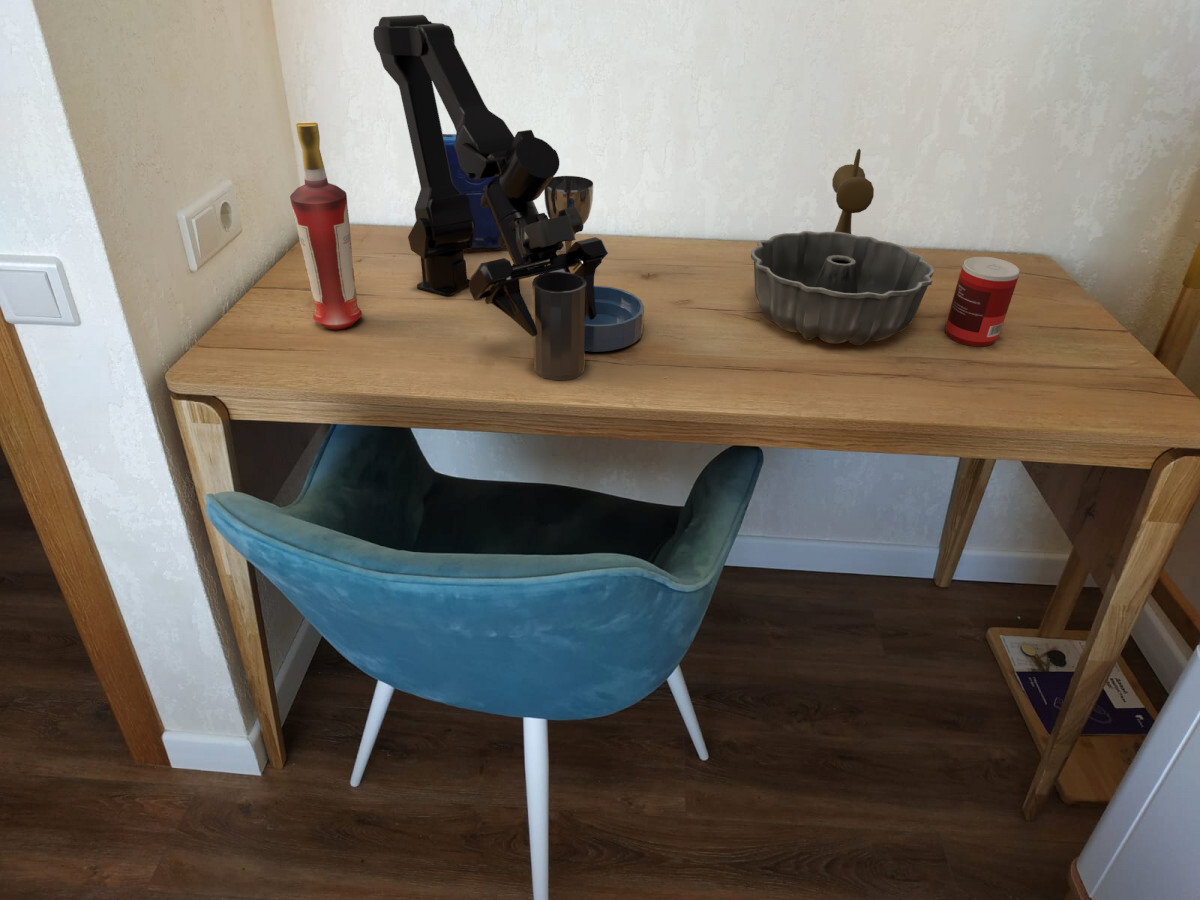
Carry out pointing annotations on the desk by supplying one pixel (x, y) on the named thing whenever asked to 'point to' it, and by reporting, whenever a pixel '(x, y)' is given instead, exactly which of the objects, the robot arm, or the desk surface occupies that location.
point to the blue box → (473, 201)
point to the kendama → (851, 192)
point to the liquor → (325, 237)
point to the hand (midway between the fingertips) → (565, 326)
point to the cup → (559, 325)
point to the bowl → (614, 320)
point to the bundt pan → (838, 285)
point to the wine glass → (568, 198)
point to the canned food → (981, 300)
